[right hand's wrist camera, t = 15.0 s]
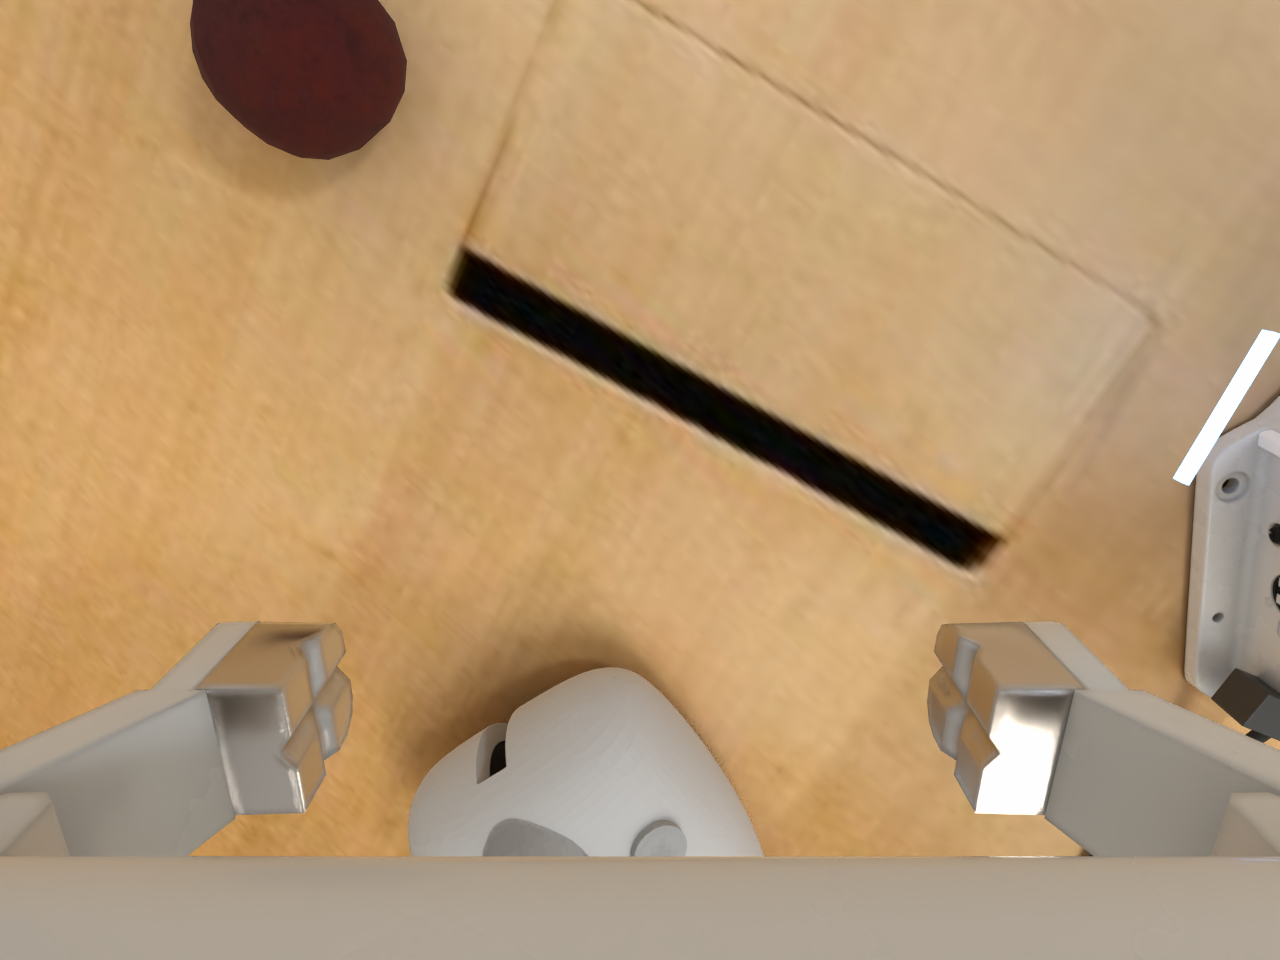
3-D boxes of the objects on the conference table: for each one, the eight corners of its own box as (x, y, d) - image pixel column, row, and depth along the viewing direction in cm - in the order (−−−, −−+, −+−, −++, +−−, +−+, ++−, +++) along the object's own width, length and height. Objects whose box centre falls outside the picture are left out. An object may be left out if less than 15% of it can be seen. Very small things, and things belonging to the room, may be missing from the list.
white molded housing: (428, 915, 51) (349, 1180, 37) (434, 617, 43) (337, 814, 29) (754, 942, 52) (795, 1211, 38) (819, 655, 44) (900, 863, 30)
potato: (233, -23, 32) (128, -81, 26) (415, -27, 32) (356, -86, 26) (266, 164, 35) (178, 156, 28) (434, 161, 35) (386, 151, 28)
